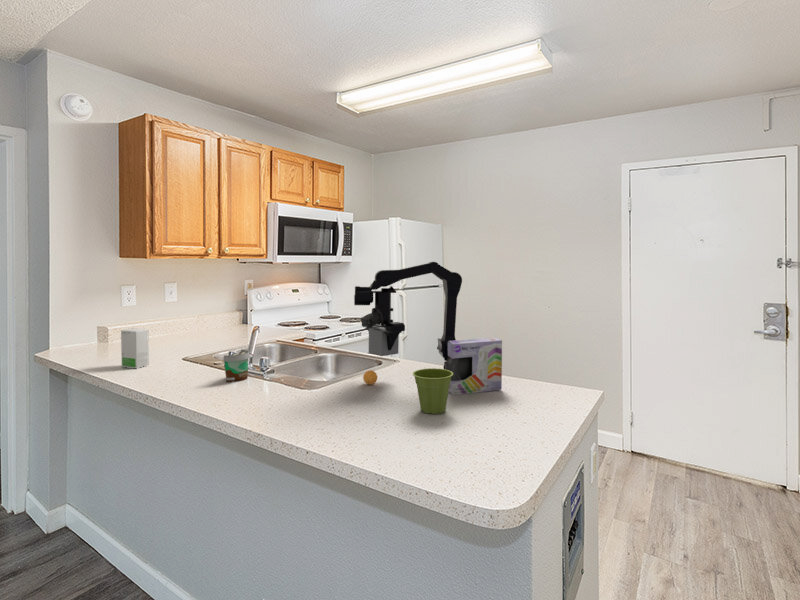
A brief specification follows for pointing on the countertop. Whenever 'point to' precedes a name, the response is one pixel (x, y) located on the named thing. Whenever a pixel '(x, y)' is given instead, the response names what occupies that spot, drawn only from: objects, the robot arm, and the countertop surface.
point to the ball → (370, 377)
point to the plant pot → (433, 389)
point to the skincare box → (135, 348)
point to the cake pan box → (475, 365)
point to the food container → (237, 366)
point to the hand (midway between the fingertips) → (382, 348)
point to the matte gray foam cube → (381, 342)
